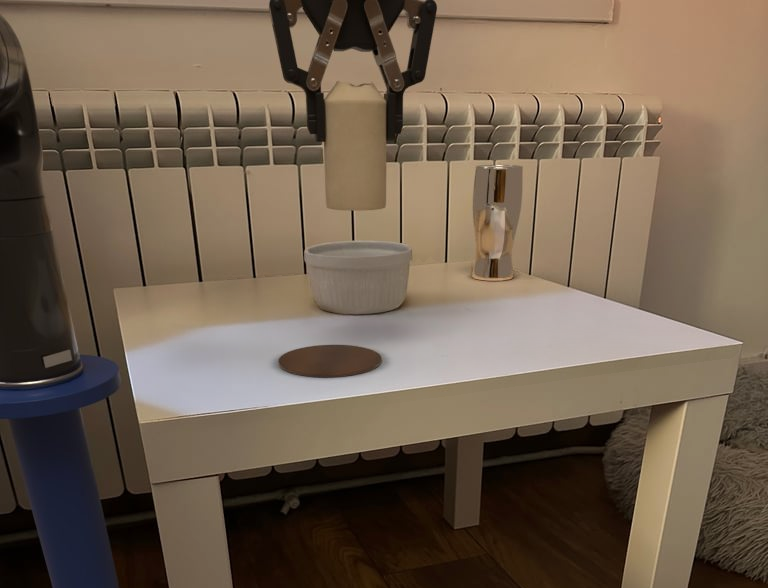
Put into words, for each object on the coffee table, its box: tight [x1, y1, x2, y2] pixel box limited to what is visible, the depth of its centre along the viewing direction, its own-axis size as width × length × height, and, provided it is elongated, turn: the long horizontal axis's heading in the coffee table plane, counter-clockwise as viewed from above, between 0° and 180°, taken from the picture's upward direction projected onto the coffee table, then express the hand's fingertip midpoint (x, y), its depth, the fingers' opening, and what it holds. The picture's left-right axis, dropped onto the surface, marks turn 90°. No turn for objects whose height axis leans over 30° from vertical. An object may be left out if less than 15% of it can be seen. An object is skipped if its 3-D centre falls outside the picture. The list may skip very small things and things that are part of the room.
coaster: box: [277, 344, 383, 378], centre depth 71 cm, size 10×10×1 cm
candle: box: [323, 80, 387, 212], centre depth 64 cm, size 6×6×10 cm
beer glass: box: [471, 164, 524, 282], centre depth 105 cm, size 7×7×15 cm
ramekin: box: [303, 240, 413, 315], centre depth 91 cm, size 13×13×7 cm
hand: (354, 140), depth 64 cm, fingers closed on candle, 5 cm apart
